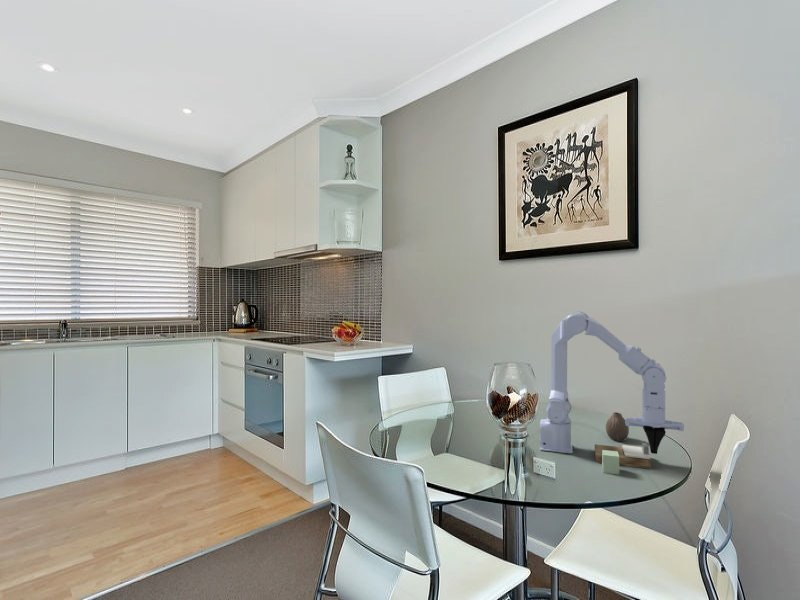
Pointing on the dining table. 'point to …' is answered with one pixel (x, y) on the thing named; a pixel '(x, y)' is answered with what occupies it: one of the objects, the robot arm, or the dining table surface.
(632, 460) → the wooden tray
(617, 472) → the block
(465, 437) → the dining table surface
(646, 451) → the cover
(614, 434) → the vase
